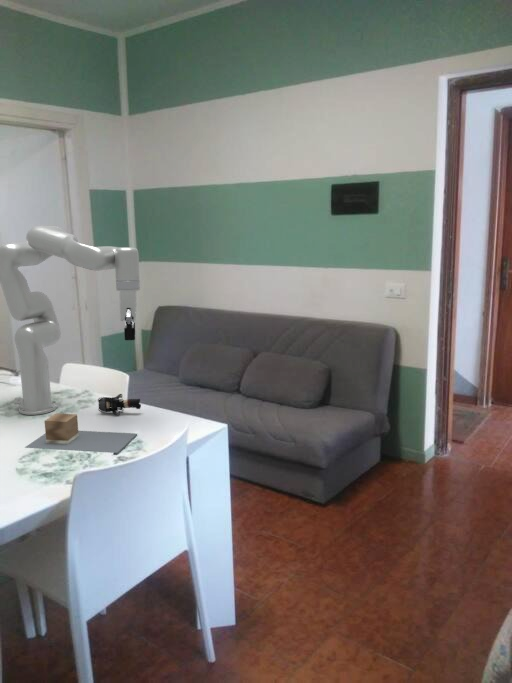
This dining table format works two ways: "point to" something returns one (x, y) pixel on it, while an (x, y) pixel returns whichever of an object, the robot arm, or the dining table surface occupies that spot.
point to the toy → (117, 404)
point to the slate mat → (89, 442)
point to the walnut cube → (61, 428)
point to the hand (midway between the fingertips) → (130, 337)
